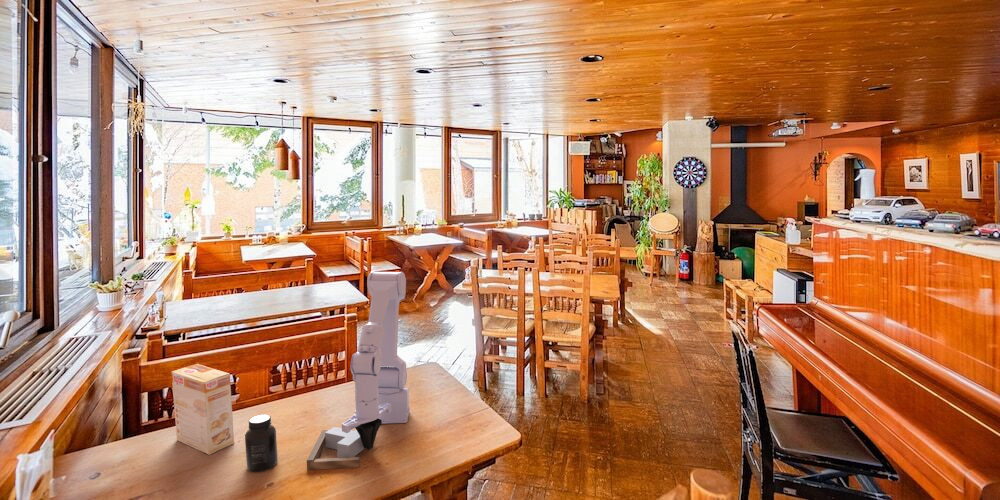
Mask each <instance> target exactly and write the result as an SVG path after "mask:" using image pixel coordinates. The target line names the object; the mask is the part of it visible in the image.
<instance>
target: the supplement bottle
mask: <svg viewBox="0 0 1000 500" xmlns="http://www.w3.org/2000/svg"><path fill="white" fill-rule="evenodd" d="M271 417H272V416H271V415H269V414H258V415H254V416H252V417H251V418H249V419H248V430H246V433H245V434H244V443H245V456H246V459H245V460H246V468H247V469H248V471H249V472H254V473H260V472H265V471H267V470H271V469H272V468H273V467H275V465H277V463H278V441H277V429H276V427H275V426H274V425H272V419H271Z"/></svg>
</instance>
